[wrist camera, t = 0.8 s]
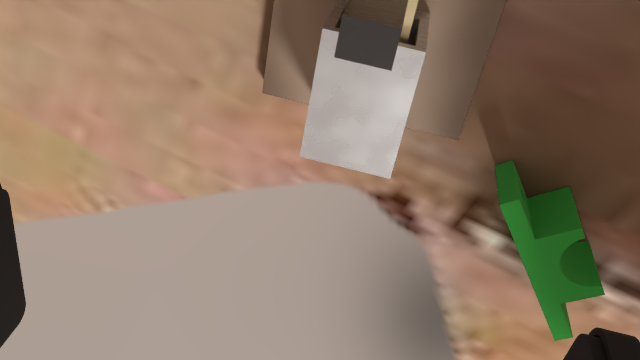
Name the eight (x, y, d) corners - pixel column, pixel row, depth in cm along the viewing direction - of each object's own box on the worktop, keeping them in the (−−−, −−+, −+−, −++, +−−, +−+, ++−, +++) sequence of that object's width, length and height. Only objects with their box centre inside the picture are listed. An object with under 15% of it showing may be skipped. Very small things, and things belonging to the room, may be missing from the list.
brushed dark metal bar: (449, -121, 27) (447, -72, 18) (383, 130, 34) (357, 255, 25) (381, -135, 27) (344, -95, 18) (329, 117, 35) (285, 237, 25)
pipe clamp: (601, 279, 41) (617, 330, 38) (545, 291, 43) (554, 341, 39) (556, 145, 37) (568, 187, 33) (494, 163, 38) (499, 206, 34)
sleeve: (430, 12, 32) (426, 52, 27) (398, 125, 36) (389, 178, 31) (342, -9, 33) (322, 28, 28) (320, 106, 37) (299, 156, 32)
